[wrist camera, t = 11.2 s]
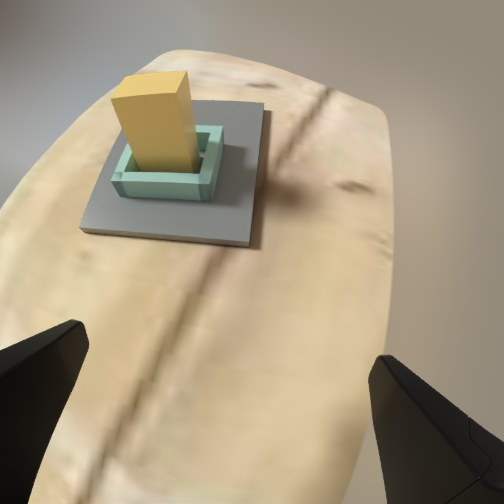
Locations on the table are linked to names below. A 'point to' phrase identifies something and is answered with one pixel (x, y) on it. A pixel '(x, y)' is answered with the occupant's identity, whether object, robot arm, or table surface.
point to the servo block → (159, 121)
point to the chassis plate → (185, 184)
